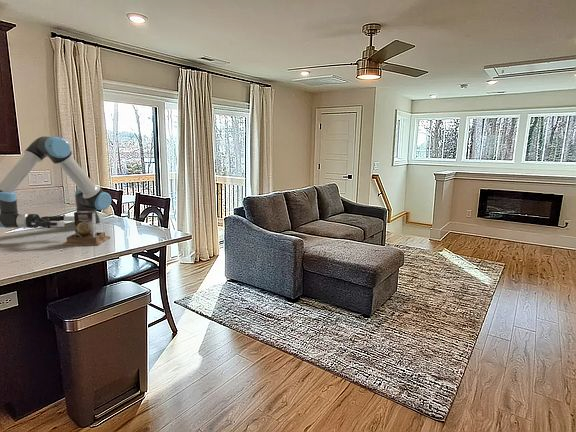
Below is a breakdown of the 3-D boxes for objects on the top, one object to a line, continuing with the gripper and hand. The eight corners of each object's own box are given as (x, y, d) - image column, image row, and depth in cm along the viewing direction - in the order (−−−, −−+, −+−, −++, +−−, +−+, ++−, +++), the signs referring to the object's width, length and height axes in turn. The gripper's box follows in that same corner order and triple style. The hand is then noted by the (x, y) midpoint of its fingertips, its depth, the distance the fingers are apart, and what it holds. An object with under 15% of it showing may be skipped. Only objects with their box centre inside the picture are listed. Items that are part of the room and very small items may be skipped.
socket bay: (77, 237, 212) (77, 230, 211) (110, 238, 213) (109, 231, 212) (63, 245, 196) (62, 237, 195) (98, 245, 198) (97, 238, 197)
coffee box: (75, 242, 199) (73, 212, 196) (79, 239, 205) (77, 210, 202) (94, 241, 201) (91, 212, 198) (97, 238, 207) (95, 210, 204)
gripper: (43, 222, 212) (81, 223, 214) (15, 233, 188) (59, 233, 190) (41, 209, 211) (80, 210, 212) (13, 218, 186) (57, 219, 188)
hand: (70, 221), depth 201 cm, fingers open, 13 cm apart
